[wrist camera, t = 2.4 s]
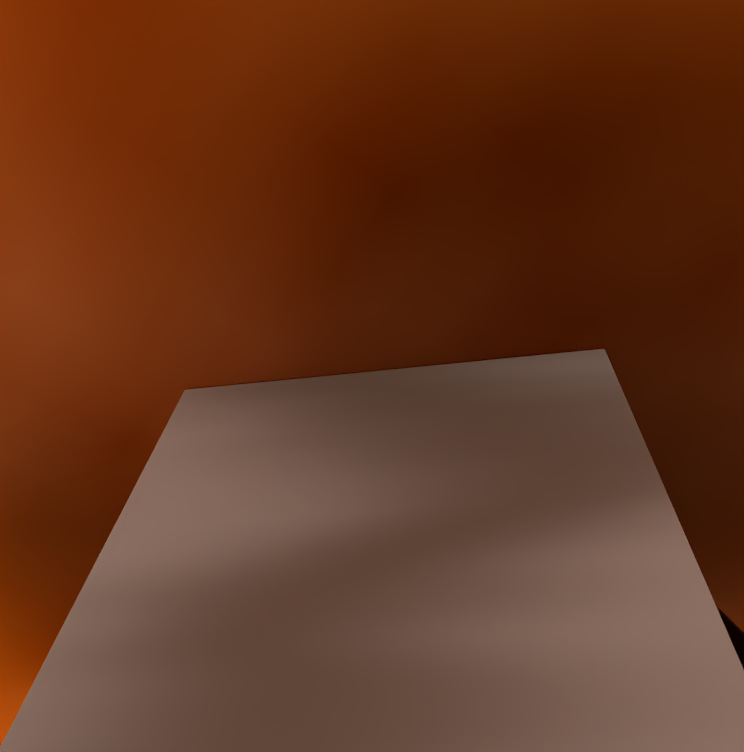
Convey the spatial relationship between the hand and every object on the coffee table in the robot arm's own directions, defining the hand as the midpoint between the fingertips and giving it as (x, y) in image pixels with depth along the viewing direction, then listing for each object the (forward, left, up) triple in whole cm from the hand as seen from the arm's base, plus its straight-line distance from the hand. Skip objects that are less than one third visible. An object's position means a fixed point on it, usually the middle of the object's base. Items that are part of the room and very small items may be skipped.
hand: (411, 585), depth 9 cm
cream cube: (0, 0, -1) cm, 1 cm away
